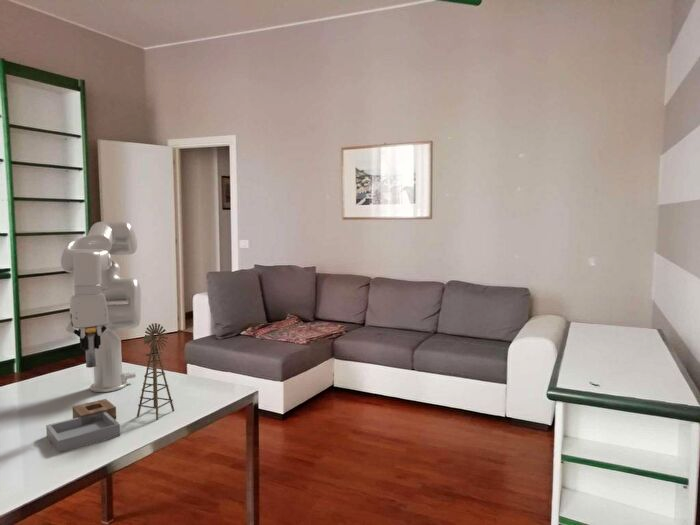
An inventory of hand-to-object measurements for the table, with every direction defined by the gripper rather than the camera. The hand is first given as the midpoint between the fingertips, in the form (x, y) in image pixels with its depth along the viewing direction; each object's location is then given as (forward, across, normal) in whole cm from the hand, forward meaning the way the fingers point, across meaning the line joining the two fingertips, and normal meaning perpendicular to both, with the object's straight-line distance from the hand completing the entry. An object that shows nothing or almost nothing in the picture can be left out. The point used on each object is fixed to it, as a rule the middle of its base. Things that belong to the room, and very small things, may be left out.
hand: (90, 348), depth 151 cm
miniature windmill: (+24, -17, +8) cm, 30 cm away
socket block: (+23, -1, -2) cm, 23 cm away
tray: (+23, +5, +10) cm, 26 cm away
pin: (+6, 0, 0) cm, 6 cm away
